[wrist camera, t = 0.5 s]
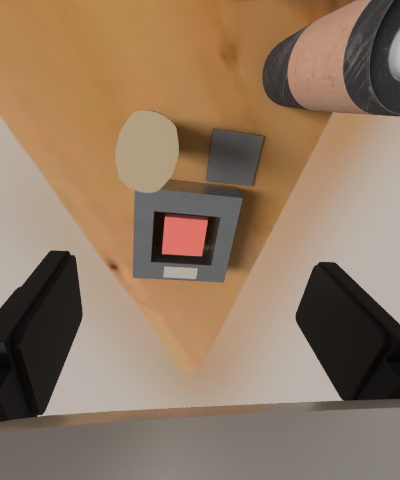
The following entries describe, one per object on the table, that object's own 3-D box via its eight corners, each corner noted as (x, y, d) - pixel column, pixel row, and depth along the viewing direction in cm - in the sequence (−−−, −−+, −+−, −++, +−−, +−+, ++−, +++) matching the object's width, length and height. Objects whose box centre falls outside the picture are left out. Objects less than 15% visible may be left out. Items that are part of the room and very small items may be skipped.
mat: (213, 128, 34) (214, 128, 34) (263, 135, 35) (264, 136, 35) (205, 180, 38) (206, 181, 37) (251, 185, 39) (252, 186, 38)
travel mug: (271, 119, 35) (375, 141, 17) (250, 57, 31) (354, 5, 14) (326, 88, 33) (496, 78, 16) (310, 20, 30) (508, -88, 12)
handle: (180, 113, 33) (188, 124, 20) (166, 162, 36) (165, 199, 23) (143, 99, 32) (125, 100, 19) (132, 150, 35) (109, 182, 22)
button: (165, 213, 36) (164, 216, 35) (206, 216, 37) (207, 220, 36) (162, 249, 39) (161, 253, 38) (201, 252, 40) (201, 256, 39)
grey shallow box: (139, 176, 36) (134, 187, 32) (234, 186, 39) (243, 198, 34) (136, 259, 43) (132, 278, 38) (218, 264, 45) (223, 283, 40)
